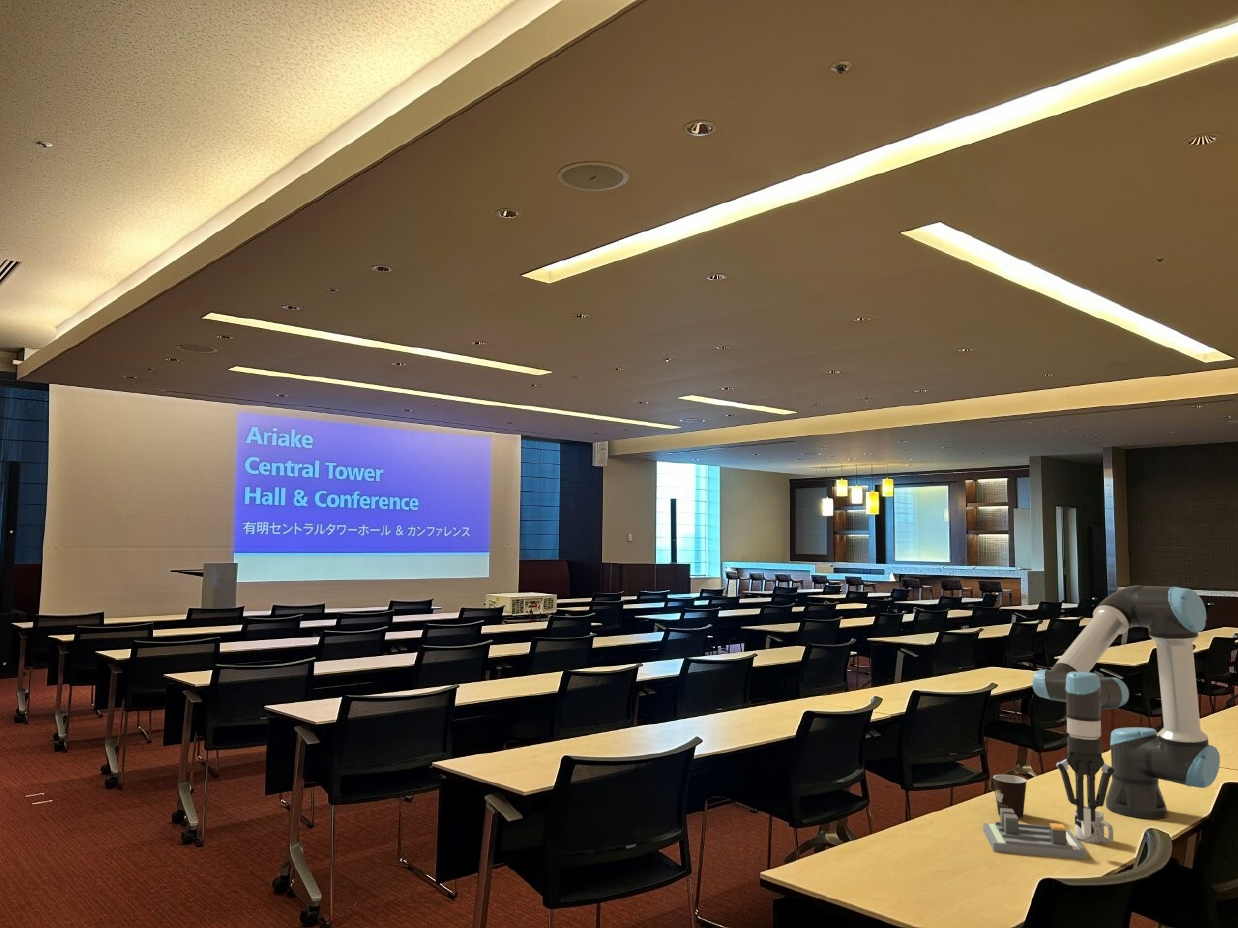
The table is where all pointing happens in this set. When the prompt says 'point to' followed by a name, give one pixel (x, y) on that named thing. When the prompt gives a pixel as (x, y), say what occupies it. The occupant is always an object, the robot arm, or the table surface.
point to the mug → (1094, 830)
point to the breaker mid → (1011, 824)
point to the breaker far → (1004, 811)
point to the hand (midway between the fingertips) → (1086, 834)
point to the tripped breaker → (1057, 834)
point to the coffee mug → (1010, 793)
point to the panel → (1032, 841)
